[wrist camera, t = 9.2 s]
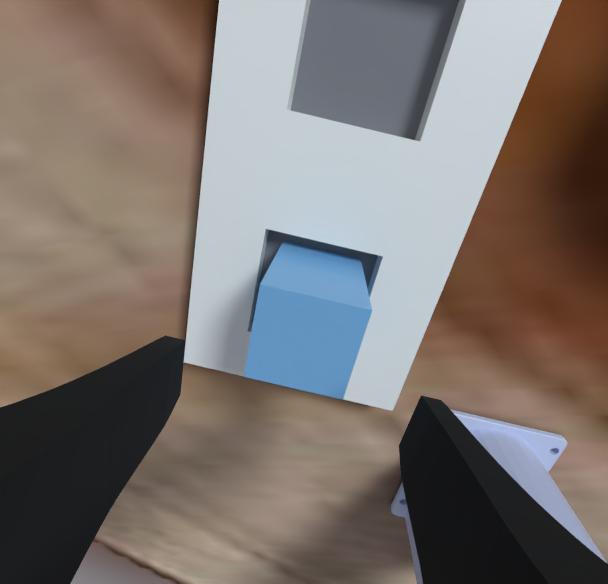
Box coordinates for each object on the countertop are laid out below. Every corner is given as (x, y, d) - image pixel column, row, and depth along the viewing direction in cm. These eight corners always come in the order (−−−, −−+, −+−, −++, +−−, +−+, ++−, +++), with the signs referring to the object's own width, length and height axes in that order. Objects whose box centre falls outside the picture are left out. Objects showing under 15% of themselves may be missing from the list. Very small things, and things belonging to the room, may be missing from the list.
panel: (388, 392, 21) (392, 410, 20) (194, 347, 21) (183, 362, 20) (579, -90, 13) (611, -122, 11) (251, -171, 12) (239, -214, 11)
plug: (340, 326, 19) (342, 399, 14) (269, 310, 19) (243, 376, 14) (360, 258, 18) (372, 310, 12) (283, 240, 18) (260, 284, 12)
